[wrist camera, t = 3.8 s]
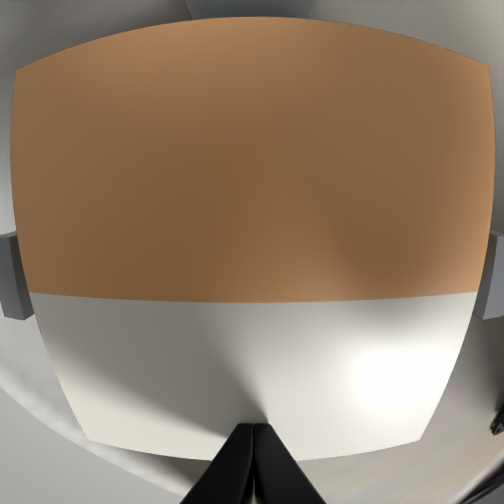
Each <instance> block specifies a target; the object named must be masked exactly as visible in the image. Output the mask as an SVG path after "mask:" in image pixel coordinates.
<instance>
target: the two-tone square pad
mask: <svg viewBox="0 0 504 504" xmlns="http://www.w3.org/2000/svg"><path fill="white" fill-rule="evenodd" d="M10 158H11V183H12V196H13V207H14V215H15V223H16V231H17V237H18V243H19V249H20V254H21V260H22V265H23V269H24V274H25V278H26V283H27V287H28V291H29V295H30V299H31V302H32V306H33V309H34V313H35V316H36V320H37V323H38V326H39V329H40V332H41V335H42V338H43V341H44V344H45V347H46V349H47V352H48V355H49V358H50V360H51V363H52V365H53V368H54V370H55V373H56V375H57V378H58V380H59V382H60V385H61V387H62V389H63V391H64V394H65V396H66V398H67V400H68V402H69V404H70V406H71V408H72V410H73V412H74V414H75V416H76V418H77V420H78V422H79V424H80V426H81V428H82V430H83V432H84V433H85V435H86V437H87V439H88V440H91V441H95V442H99V443H102V444H107V445H111V446H115V447H120V448H124V449H129V450H134V451H140V452H145V453H151V454H157V455H164V456H171V457H179V458H188V459H199V460H213V458H214V457H215V456H216V454H217V453H218V451H219V450H220V449H221V447H222V446H223V444H224V443H225V441H226V440H227V438H228V437H229V436H230V434H231V433H232V431H233V430H234V428H235V427H236V425H237V424H239V423H252V424H253V425H255V424H256V423H269V424H271V425H272V427H273V428H274V430H275V431H276V433H277V434H278V436H279V437H280V439H281V440H282V442H283V443H284V445H285V446H286V448H287V449H288V451H289V452H290V454H291V455H292V457H293V458H294V460H295V461H297V460H310V459H321V458H330V457H338V456H345V455H352V454H358V453H364V452H369V451H375V450H380V449H385V448H389V447H394V446H398V445H402V444H406V443H410V442H414V441H418V440H419V439H420V437H421V436H422V434H423V432H424V430H425V428H426V426H427V425H428V423H429V421H430V419H431V417H432V415H433V413H434V411H435V409H436V407H437V404H438V402H439V400H440V398H441V396H442V394H443V391H444V389H445V387H446V385H447V382H448V380H449V378H450V375H451V373H452V370H453V368H454V365H455V362H456V360H457V357H458V355H459V352H460V349H461V346H462V343H463V340H464V337H465V334H466V331H467V328H468V325H469V322H470V318H471V315H472V312H473V308H474V304H475V301H476V297H477V293H478V289H479V285H480V280H481V276H482V271H483V266H484V261H485V256H486V250H487V245H488V238H489V231H490V224H491V216H492V206H493V195H494V179H495V124H494V108H493V97H492V88H491V80H490V73H489V67H488V66H487V65H485V64H483V63H481V62H478V61H476V60H474V59H471V58H469V57H466V56H464V55H461V54H459V53H456V52H454V51H451V50H448V49H445V48H442V47H440V46H437V45H434V44H430V43H427V42H424V41H421V40H417V39H414V38H410V37H407V36H403V35H399V34H395V33H391V32H387V31H383V30H378V29H373V28H368V27H363V26H357V25H352V24H345V23H339V22H331V21H323V20H314V19H302V18H287V17H227V18H211V19H200V20H190V21H182V22H174V23H168V24H161V25H156V26H150V27H145V28H140V29H135V30H130V31H126V32H122V33H118V34H114V35H110V36H106V37H102V38H99V39H95V40H92V41H89V42H85V43H82V44H79V45H76V46H73V47H70V48H67V49H64V50H62V51H59V52H56V53H54V54H51V55H49V56H46V57H44V58H41V59H39V60H36V61H34V62H32V63H29V64H27V65H25V66H23V67H21V68H18V69H16V73H15V81H14V89H13V99H12V113H11V136H10Z"/></svg>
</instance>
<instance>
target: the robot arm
mask: <svg viewBox="0 0 504 504" xmlns="http://www.w3.org/2000/svg"><path fill="white" fill-rule="evenodd" d="M503 431H504V409H503V411H502V413H501V415H500V416H499V418H498V420H497V422H496V424H495V426H494V427H493V429H492V431H491V433H492V434H493V435H494V436H495V435H497V434H499V433H501V432H503ZM253 494H254V497H255V504H326V502H325V501H324V500H323V498H322V497H321V496H320V494H319V493H318V492H317V490H316V489H315V488H314V486H313V485H312V483H311V482H310V481H309V479H308V478H307V477H306V475H305V474H304V472H303V471H302V470H301V468H300V467H299V465H298V464H297V462H296V461H295V460H294V458H293V457H292V455H291V454H290V452H289V451H288V449H287V448H286V446H285V445H284V443H283V442H282V440H281V439H280V437H279V436H278V434H277V433H276V431H275V430H274V428H273V427H272V425H271V424H269V423H256V424H255V425H253V424H252V423H239V424H237V425H236V427H235V428H234V430H233V431H232V433H231V434H230V436H229V437H228V438H227V440H226V441H225V443H224V444H223V446H222V447H221V449H220V450H219V451H218V453H217V454H216V456H215V457H214V458H213V460H212V461H211V463H210V464H209V465H208V467H207V468H206V470H205V471H204V472H203V474H202V475H201V476H200V478H199V479H198V480H197V482H196V483H195V484H194V486H193V487H192V488H191V490H190V491H189V492H188V494H187V495H186V496H185V497H184V499H183V500H182V501H181V502H180V504H252V502H253Z"/></svg>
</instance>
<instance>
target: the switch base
mask: <svg viewBox="0 0 504 504" xmlns="http://www.w3.org/2000/svg"><path fill="white" fill-rule="evenodd" d="M0 301H1V305H2V309H3V313H4V317H9V318H14V319H19V320H26V319H27V318H29V317H30V316H32V315H33V314H35V313H34V309H33V306H32V302H31V299H30V295H29V291H28V287H27V283H26V278H25V274H24V269H23V265H22V260H21V254H20V249H19V243H18V237H17V231H14V232H11V233H7V234H3V235H0ZM472 313H473V314H475V315H476V316H478V317H479V318H481V319H482V320H485V319H490V318H496V317H501V316H503V315H504V233H503V232H499V231H495V230H491V229H490V231H489V238H488V245H487V250H486V256H485V261H484V266H483V271H482V276H481V280H480V285H479V289H478V293H477V297H476V301H475V304H474V308H473V312H472Z"/></svg>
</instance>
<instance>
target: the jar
mask: <svg viewBox="0 0 504 504" xmlns="http://www.w3.org/2000/svg"><path fill="white" fill-rule="evenodd" d="M185 1H186V4H187V6H188V9H189V11H190V14H191V16H192V19H193V20H200V19H211V18H227V17H287V18H302V19H312V16H313V13H314V10H315V8H316V5H317V2H318V0H185Z"/></svg>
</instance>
